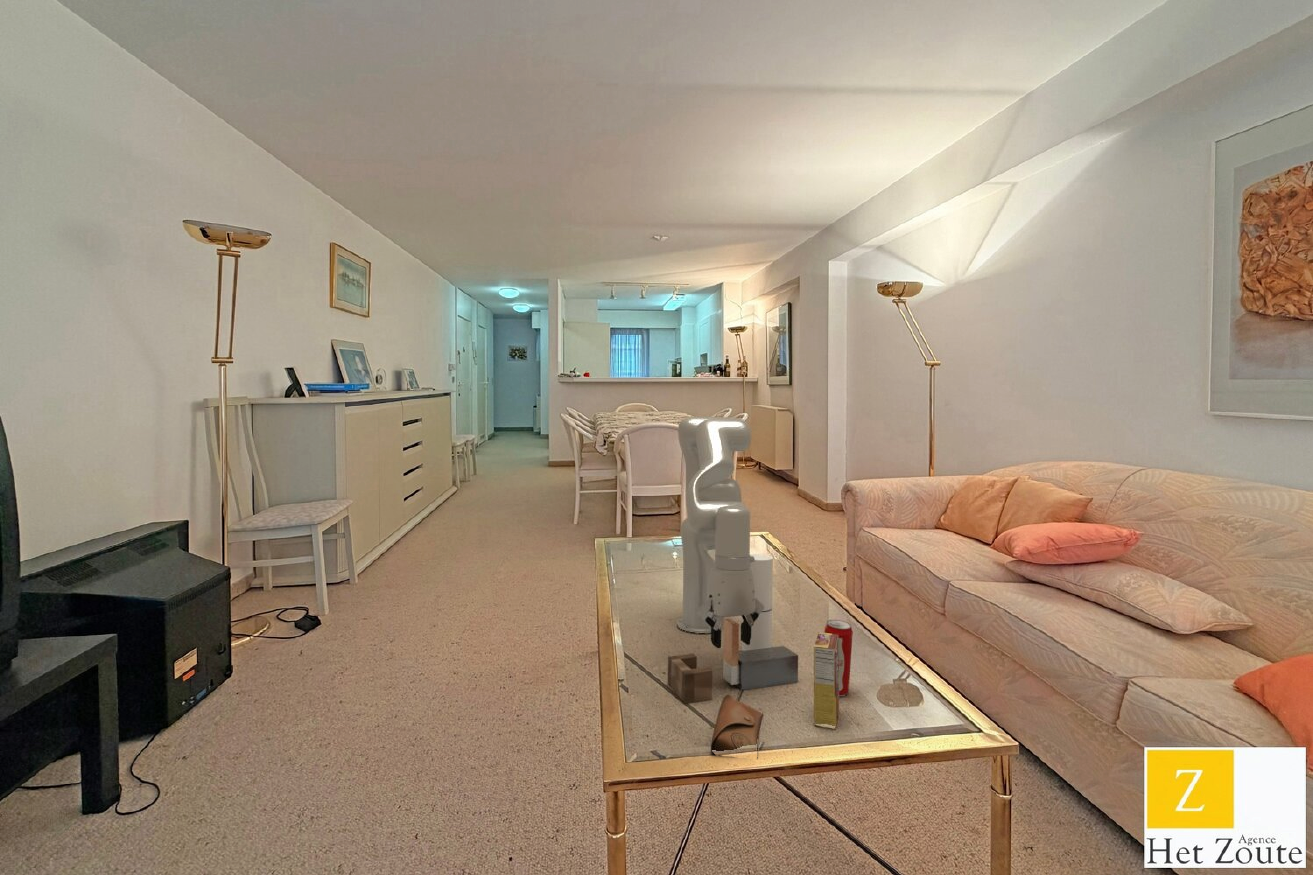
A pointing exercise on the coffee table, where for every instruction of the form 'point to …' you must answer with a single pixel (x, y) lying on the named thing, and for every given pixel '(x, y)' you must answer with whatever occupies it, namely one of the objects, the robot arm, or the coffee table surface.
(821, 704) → the candy box
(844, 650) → the beverage can
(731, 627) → the tan wooden slab
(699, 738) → the coffee table surface
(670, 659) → the socket
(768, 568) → the cylindrical container
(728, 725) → the sunglasses case
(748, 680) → the grey metal block
